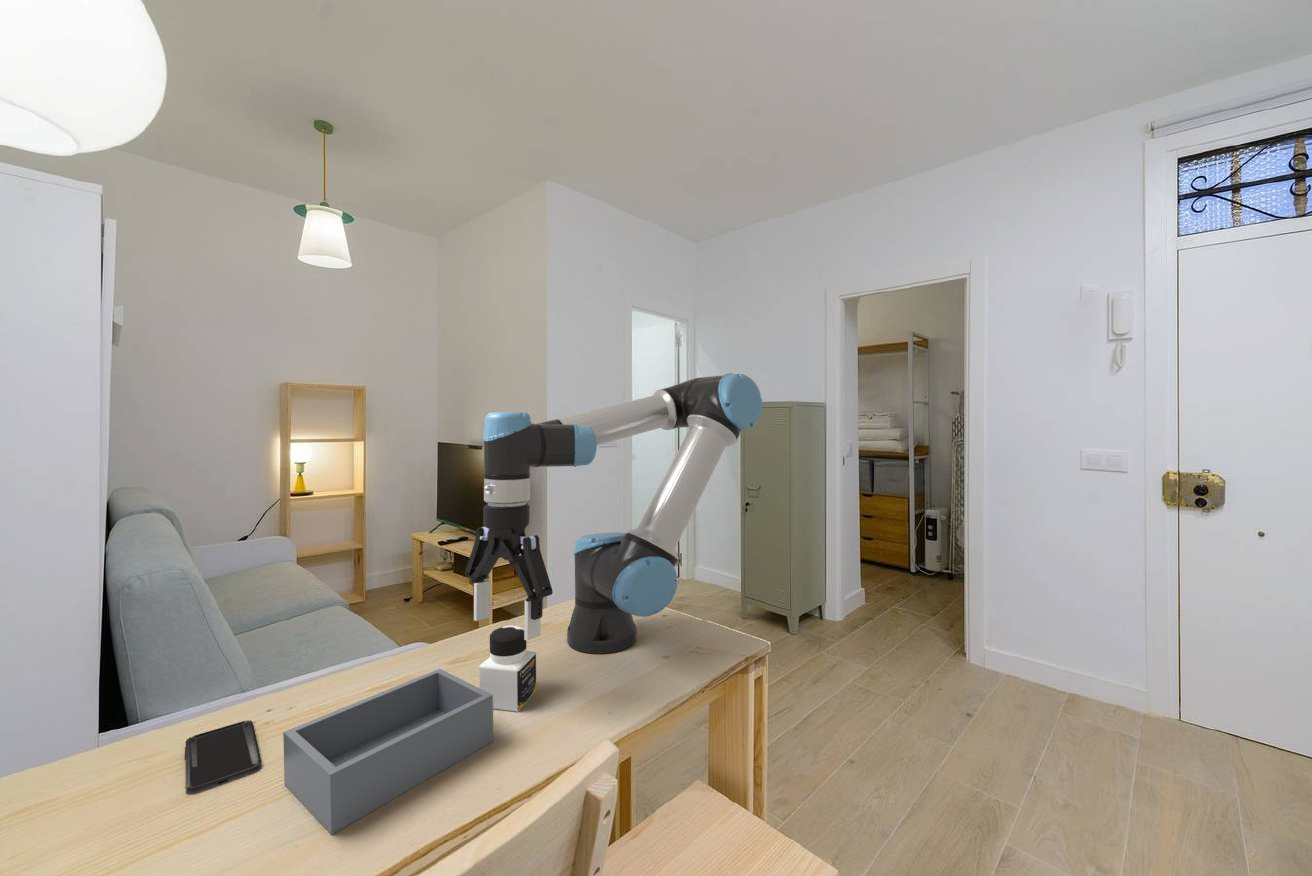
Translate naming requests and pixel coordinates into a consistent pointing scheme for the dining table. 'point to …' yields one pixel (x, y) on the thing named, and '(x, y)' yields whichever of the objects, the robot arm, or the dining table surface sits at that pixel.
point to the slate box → (384, 746)
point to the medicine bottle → (508, 669)
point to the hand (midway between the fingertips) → (505, 627)
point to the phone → (221, 756)
